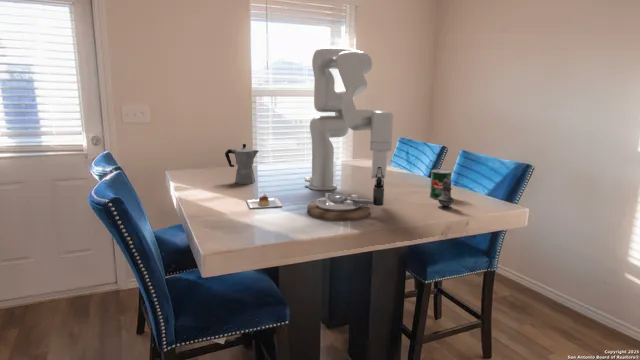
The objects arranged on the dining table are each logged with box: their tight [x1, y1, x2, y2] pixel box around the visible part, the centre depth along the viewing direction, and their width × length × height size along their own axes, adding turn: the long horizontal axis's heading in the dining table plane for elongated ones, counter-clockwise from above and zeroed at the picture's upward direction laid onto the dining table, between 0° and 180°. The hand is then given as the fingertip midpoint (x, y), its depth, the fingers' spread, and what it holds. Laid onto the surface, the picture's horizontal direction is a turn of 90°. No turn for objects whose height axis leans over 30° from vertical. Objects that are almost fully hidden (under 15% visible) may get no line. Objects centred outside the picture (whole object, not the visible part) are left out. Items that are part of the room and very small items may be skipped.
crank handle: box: [315, 187, 385, 212], centre depth 148 cm, size 24×16×7 cm
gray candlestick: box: [437, 176, 455, 211], centre depth 155 cm, size 6×6×12 cm
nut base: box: [306, 200, 371, 222], centre depth 150 cm, size 22×22×2 cm
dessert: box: [246, 192, 283, 210], centre depth 159 cm, size 12×12×5 cm
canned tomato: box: [429, 168, 452, 201], centre depth 171 cm, size 8×8×11 cm
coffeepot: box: [224, 143, 260, 185], centre depth 197 cm, size 15×9×18 cm, turn 103°
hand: (378, 193), depth 154 cm, fingers open, 9 cm apart
